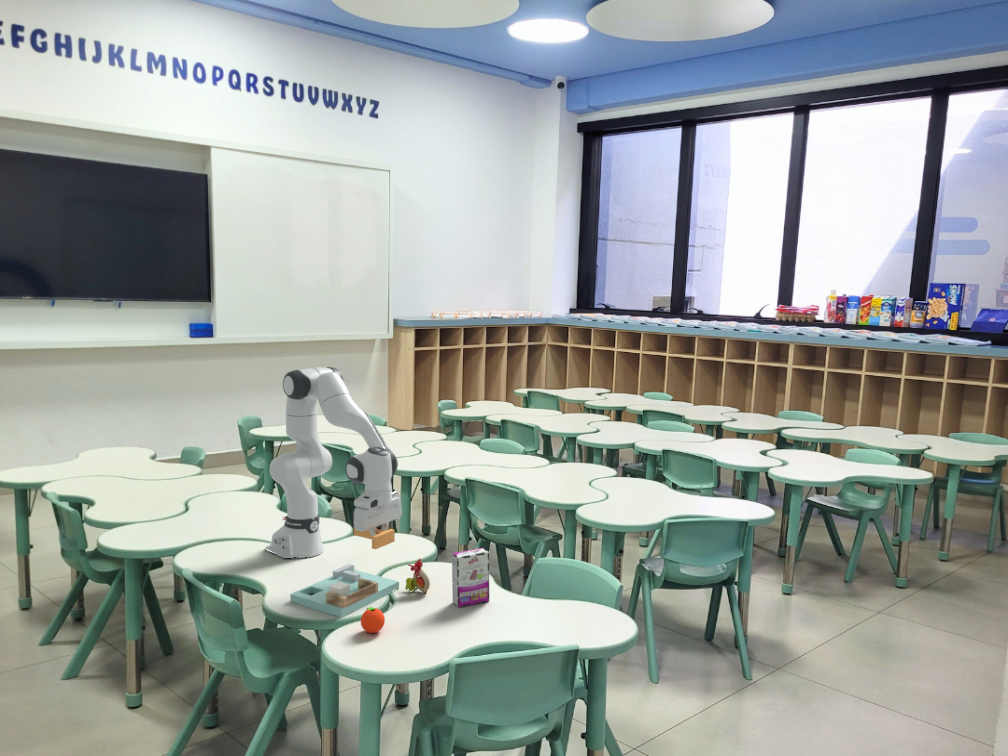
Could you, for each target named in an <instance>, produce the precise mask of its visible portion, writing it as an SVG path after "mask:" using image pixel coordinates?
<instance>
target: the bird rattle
mask: <svg viewBox="0 0 1008 756" xmlns="http://www.w3.org/2000/svg"><path fill="white" fill-rule="evenodd" d="M423 565H424V564H423V562H422V559H421V558H418V559H417V561H416V562H414V565H413V564H410V563H409V564H407V566H408V567H410V571H411V572H413V574H412V577H407V578H406V579H405V583H406V584H405V590H406V591H407V590H409V592H410V591H412V590H414V591H415V588H416V589H417V588H418V591H420V592H422V593H423V594H424V593H425V592H427V593H428V590H429V589H430V585H431V582H430V579H429V576H428V575H427V573H426V572H425V571H424V570H423V569H422V567H423ZM425 594H426V593H425Z"/></svg>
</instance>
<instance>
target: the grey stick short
mask: <svg viewBox="0 0 1008 756" xmlns="http://www.w3.org/2000/svg"><path fill="white" fill-rule="evenodd" d="M346 570H348V571H352V572H354V570H355V565H354V564H351V563H348V564H346V565H344V566H341V567H339V568H337V569H334V570H332V576H333V578H337V579H338V578H340V577H342V572H344V571H346Z"/></svg>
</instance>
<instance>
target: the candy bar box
mask: <svg viewBox="0 0 1008 756" xmlns="http://www.w3.org/2000/svg"><path fill="white" fill-rule="evenodd" d="M451 574H452V577H451V578H452V579H451V582H452V584H451V585H452V587H451V588H452V591H451V592H452V603H453V604H454V605H455V606H456V607H458V608H463V607H464V608H465V607H468V606H474V605H477V604H482V603H487V602H490V552H489V551H488V550H486V549H485V548H484V547H481V548H475V549H469V550H464V551H459V552H453V553H451Z"/></svg>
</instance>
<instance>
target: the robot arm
mask: <svg viewBox="0 0 1008 756" xmlns="http://www.w3.org/2000/svg"><path fill="white" fill-rule="evenodd" d="M282 388H283V392H284V394H285V395H286V396H287V397H286V403H285V405H286V406H285V433H286V435H287V437H288V438H289V439H290V440H292V441H294V442H295V444H296V447H297V450H295V451H290V452H285V453H282V454H280V455H279V456H276V457H274V458H273V459H272V460H271V462H270V464H269V474H270V477H271V478H272V479H273V481H275V482H276V483H278V484H279V485H280V487H282V489H283V491H284V493H285V498H286V507H287V509H286V510H287V511H286V512H287V515H286V516H283V517H282V521H284V524H283V525H282V526H281V527H280V528H279V529H277V530H276V531H275V532H274V533H272V536H271V543H270V544H269V545H270V546H268V545H267V546H265V548H266V549H268V550H270V551H272V552H274V553H276V554H277V555H279V556H281V557H283V558H292V559H294V558H293V557H296V558H295V559H305V557H307V558H311V557H316V556H318V555H320V554H322V553H323V552H324V548H323V546H324V542H322V536H321V529H320V514H319V503H318V501H319V500H318V499H319V498H318V495H317V493H316V491H314V490H313V489H311V488H309V487H308V484H307V480H308V479H312V478H315V477H318V476H319V477H320V476H321V475H323V474H326V473H327V472H329V471H330V470H331V469H332V465H333V457H332V454H331V452H330V451H329V449H327V448H326V447H325V446H323V444H322V443H321V439H320V437H319V433H318V417H317V415H318V410H317V401H318V403H319V406H320V410H321V412H322V414H323V416H324V418H325V420H326V421H327V422H328V423H329V424H331V425H333V426H335V427H338V428H343V429H346V430H351V431H354V432H356V433H357V434H359V435H360V436H362V438H363V439H364V441H365V443H366V445H367V446H368V448H367V449H366V450H365V451H364V452H362V453H359V454H355V455H352V456H350V457H349V458H348V459H347V461H346V464H345V474H346V477H347V479H348V480H350V482H352V483H354V484H364V485H365V486H364V491H363V492H362V493H361V494H360V495H359V496H358V497H356V498H355V499H354V501H353V505H354V506H355V508H354V510H353V529H354V528H355V529H356V530H357V531H361V532H364V531H367V530H369V531H370V533H371V539H370V540H372V536H374V535H377V533H376V531H375V530H376V529H377V527H379V526H381V528H380V529H381V530H385V531H387V530H388V528H389V525H390V524H389V523H390V522H392V521H395V520H397V519H400V518H401V517H402V514H403V510H402V502H401V498H400V493H399V492H397V491H395V490H394V491H393V487H392V478H393V477H394V476H395V474H396V472H397V470H398V466H399V463H398V459H397V456H396V455H395V453H394V452H393V451H392V450H391V448H390V447H389V446H388V444H387V443H386V442H385V440H384V438H383V437H382V435H381V433H380V432H379V430H378V428H377V427H376V424H375V423H374V421H373V420H372V418H371V417H370V415H368V413H367V412H366V411H364V410H362V408H360V407H359V405H357V404H356V402H355V400H354V399H353V398H352V395H351V393H350V390H349V388H348V387H347V385H346V383H345V382H344V378H343V374H342V373H341V370H340V369H338V368H335V367H332V366H327V367H324V366H322V367H321V366H319V367H318V366H317V367H309V368H303V369H294V370H291V371H288V372H287V373H286V374H285V375H284V378H283V380H282ZM277 555H276V556H277ZM279 556H278V557H279ZM281 557H280V558H281ZM297 557H298V558H297ZM283 558H282V559H283Z"/></svg>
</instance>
